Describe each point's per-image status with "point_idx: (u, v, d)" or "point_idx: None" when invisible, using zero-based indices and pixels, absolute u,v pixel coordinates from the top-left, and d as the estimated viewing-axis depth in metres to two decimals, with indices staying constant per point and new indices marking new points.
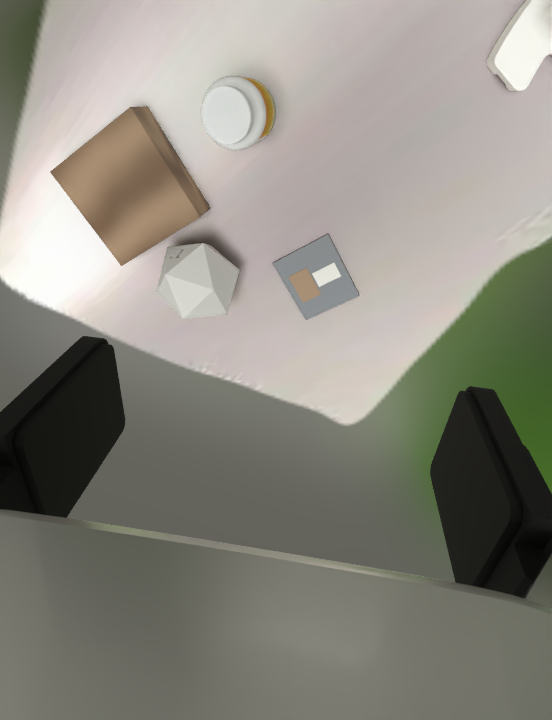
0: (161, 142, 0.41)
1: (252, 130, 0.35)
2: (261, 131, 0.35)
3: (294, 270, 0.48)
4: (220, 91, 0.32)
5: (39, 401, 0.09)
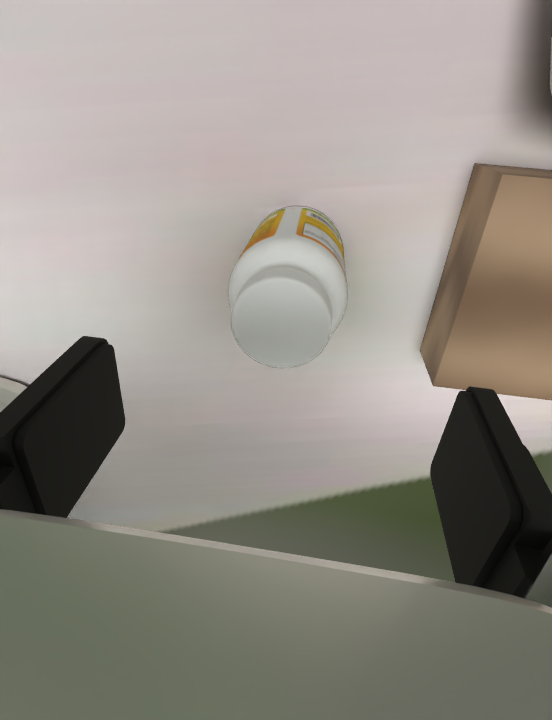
0: (442, 315, 0.23)
1: (267, 262, 0.17)
2: (258, 245, 0.18)
3: None
4: (264, 358, 0.17)
5: (39, 401, 0.09)
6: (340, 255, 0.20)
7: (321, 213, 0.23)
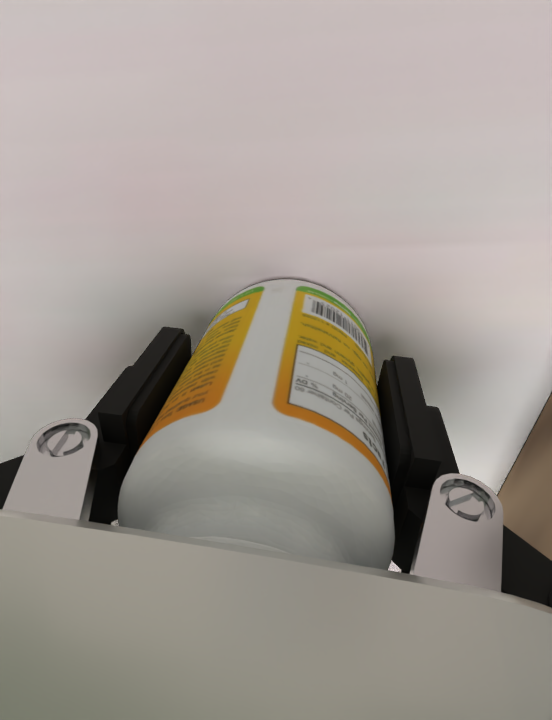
0: None
1: (192, 494, 0.07)
2: (175, 439, 0.07)
3: None
4: None
5: (142, 384, 0.09)
6: (375, 417, 0.09)
7: (333, 294, 0.12)
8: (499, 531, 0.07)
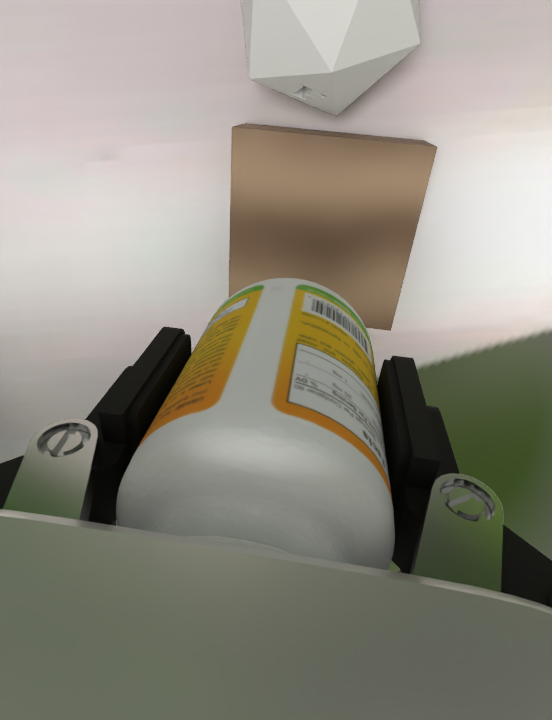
0: None
1: (191, 493, 0.07)
2: (174, 438, 0.07)
3: None
4: None
5: (142, 384, 0.09)
6: (375, 416, 0.09)
7: (333, 292, 0.12)
8: (499, 531, 0.07)
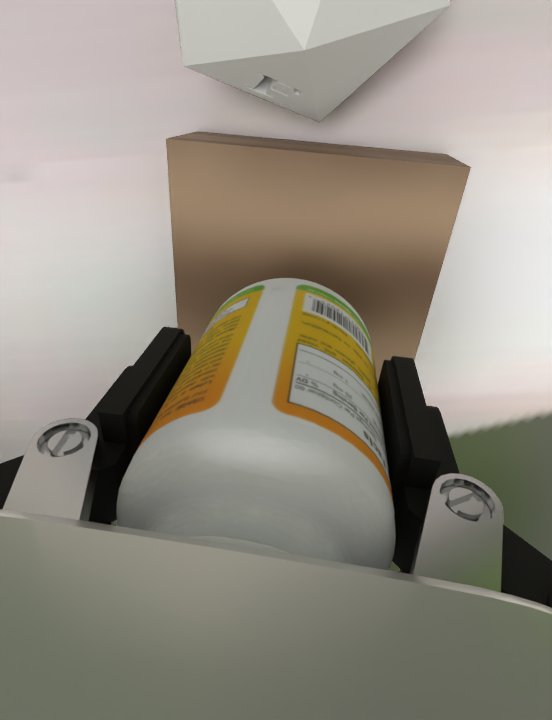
0: None
1: (191, 493, 0.07)
2: (174, 438, 0.07)
3: None
4: None
5: (142, 384, 0.09)
6: (375, 416, 0.09)
7: (333, 292, 0.12)
8: (499, 531, 0.07)
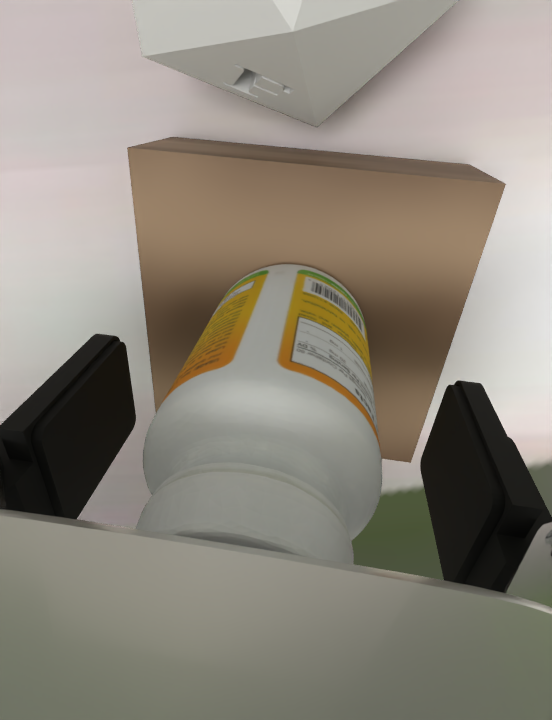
0: None
1: (210, 433, 0.08)
2: (195, 389, 0.08)
3: None
4: None
5: (56, 397, 0.09)
6: (366, 380, 0.10)
7: (330, 277, 0.13)
8: None
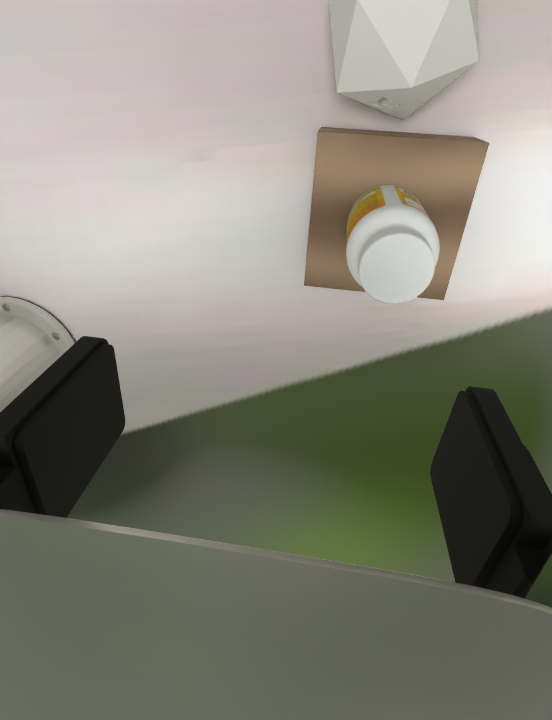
0: None
1: (382, 224, 0.23)
2: (374, 213, 0.24)
3: None
4: (380, 295, 0.23)
5: (39, 401, 0.09)
6: None
7: None
8: None
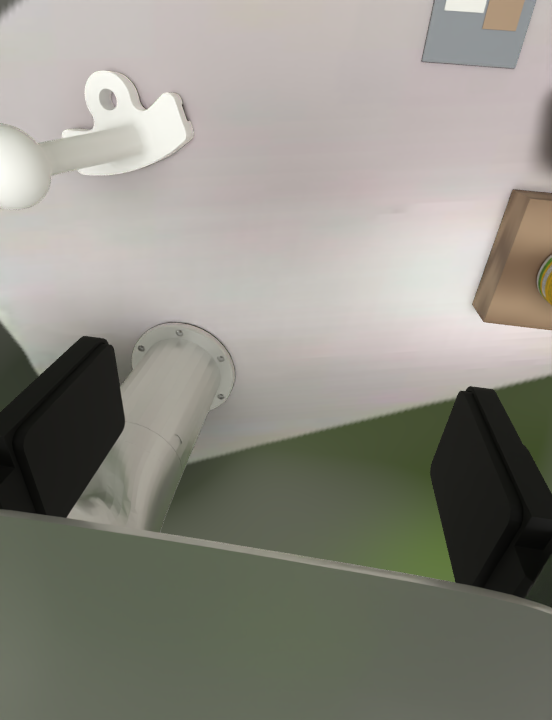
0: (490, 279, 0.39)
1: None
2: None
3: (499, 35, 0.31)
4: None
5: (39, 401, 0.09)
6: None
7: None
8: None
